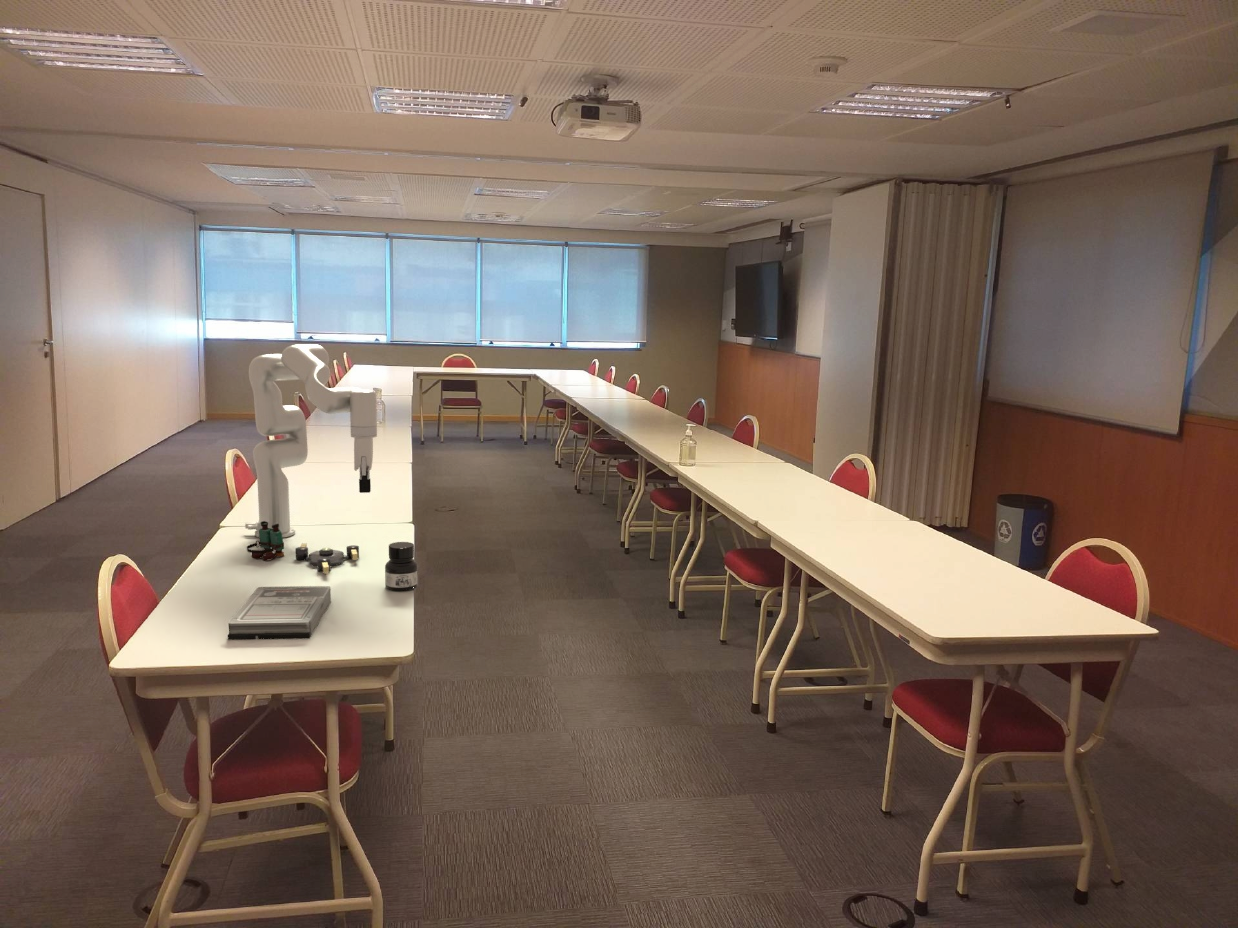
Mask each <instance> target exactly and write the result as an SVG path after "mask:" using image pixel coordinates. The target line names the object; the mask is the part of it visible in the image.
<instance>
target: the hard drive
mask: <svg viewBox="0 0 1238 928" xmlns="http://www.w3.org/2000/svg"><path fill="white" fill-rule="evenodd" d="M331 594H332V593H331V586H329V585H323V586H322V585H316V586H315V585H314V586H313V585H309V586H308V585H307V586H303V585H302V586H259V587H256V589H255V590H254V591H253V592H252V593H251V595H250V596H249V597H248V598H247V599H246V601H244V603H243V604H242V605H241V606H240V607H239V608H238V610H237V611H236V612H235V613H234V614H233V615H232V617H231V618H230V619H229V620H228V622H227V623H228V634H227V640H228V641H242V640H243V641H247V640H248V641H249V640H251V641H252V640H298V639H299V640H304V639H305V640H308V639H311V638H312V635H313V634H314V633H315V631H316V629H317V627H318V626H319V623H320V622H321V620H322V618H323V616H324V615H325V613H326V612H327V610H328V608H329V606H330V604H331V603H332V599H331V598H332V597H331Z"/></svg>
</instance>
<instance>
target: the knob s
mask: <svg viewBox="0 0 1238 928" xmlns="http://www.w3.org/2000/svg"><path fill="white" fill-rule="evenodd" d="M317 565H318V567H317V572H319V573H323V574H330V571H331V569H332V568H331V567H332V566H331V564H330V558H319V559H317Z"/></svg>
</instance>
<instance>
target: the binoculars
mask: <svg viewBox="0 0 1238 928" xmlns="http://www.w3.org/2000/svg"><path fill="white" fill-rule="evenodd" d="M261 526H262V528H261V529H259V537H258V538H259V540H256V541H255V542H253V543H251V544H248V545H247V546H246V551H247V552H248V553H251V558H252V559H254V560H259V559H262V560H263V561H264V562H266V561H267V562H268V561H271V560H273V559H275V557H278V558H280V557H285V553H284V551H283V550H284V549H285V543H284V540H283V538H282V533H281V530H279V528H278V527H279V524H275V525H272V528H273V529H272V528H268V522H266V521H262V522H261ZM255 547H256V548H259V547H260V548H261V549H252V548H255Z"/></svg>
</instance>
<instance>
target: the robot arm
mask: <svg viewBox="0 0 1238 928" xmlns="http://www.w3.org/2000/svg"><path fill="white" fill-rule="evenodd" d="M329 356H330V355H329V353H328V351H327V350H326V349H325V348H324V347H323V346H321V345H319V344H311V343H309V344H307V343H306V344H292V345H289V346H286V347H285V348H284V349H283V350H282V352H281V353H273V354H272V353H270V354H269V353H267V354H262V355H261V354H260V355H258V356H256V357H254V358H253V359H252V360H251V362H250V364H249V366H248V378H249V383H250V386H251V389H252V393H253V404H254V416H255V426H256V431H257V433H258V434H259V435H260V436H263V437H274V436H276V437H277V436H284V435H285V437H284V438H278V439H269V440H264V441H261V442H258V443H257V444H256V445H255V447H254V448H253V451H252V458H253V462H254V467H255V471H256V480H257V501H258V521H255V522H245V525H244V527H245V529H247V530H250V531H251V530H255V531H254V536H255V537H256V538H259V529H261V528H262V526H261V522H262V521H266V522H268V528H272V525H275V524H279V527H278V528H279V530H281V533H282V538H288V537H292V536H294V535H295V534H296V529H295V528H294V527H291V523H290V522H291V520H290V517H291V516H290V515H291V514H290V491H289V490H290V489H289V485H290V484H289V480H288V478H287V476H286V474H285V472H284V471H283V470H282V469H284V468H290V467H291V468H292V467H296V466H300V465H303V464H304V463H305V462H306V460H307V458H308V453H309V452H308V449H309V448H308V447H309V446H308V435H307V434H308V431H307V421H306V416H305V414H304V412H303V410H302V409H301V408H300V407H298V406H296V405H292V404H291V405H290V404H288V405H287V404H286V405H284V404H283V396H282V395H283V393H282V391H281V389H280V388H279V386H278V385H277V383H276V382H278V381H296V380H297V381H298V380H300V381H302V383H303V384H305V385H304V386H305V389H304V390H305V392H306V393H305V394H306V396H307V397H306V398H307V399H308V401H309V402H310V403H311V404H312V405H313V406H314V407H316V408H317V409H318V410H319V411H321V412H323V413H325V414H330V415H331V414H334V415H335V414H341V413H349V415H350V416H349V418H350V419H349V420H350V437H351V438H354V439H353V453H354V454H353V456H354V457H353V460H354V461H353V463H354V464H353V469H354V471H356V472H357V470H358V471H359V479H358V486H359V489H358V492H359V493H363V494H367V493H369V494H370V493H371V491H372V490H371V489H372V488H371V475H370V472H371V470H372V467H373V458H374V438H376V437H378V426H377V425H378V420H377V417H378V415H377V394H376V393H377V392H375V390H372V389H363V388H360V387H358V386H357V387H356V386H343V387H331V388H329V387H327V386H326V385H327V383H328V382H329V381H330V378H331V369H330V367H329V363H330V357H329ZM272 529H273V528H272Z"/></svg>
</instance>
